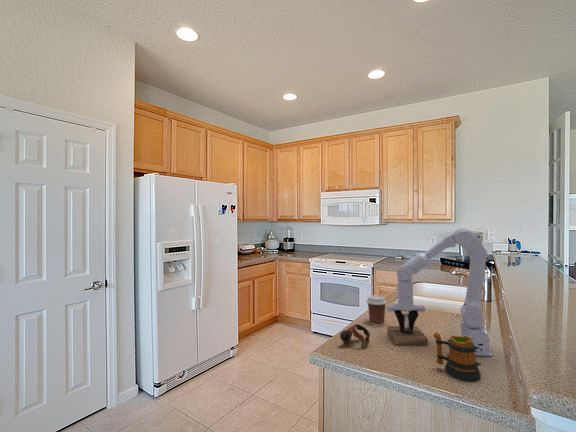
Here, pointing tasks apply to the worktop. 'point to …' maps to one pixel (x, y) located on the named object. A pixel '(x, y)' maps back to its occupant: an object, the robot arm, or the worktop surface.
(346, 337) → the brown curled shape
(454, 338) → the mug
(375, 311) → the coffee cup
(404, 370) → the worktop surface
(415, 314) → the robot arm
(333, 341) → the worktop surface
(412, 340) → the hole block
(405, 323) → the peg
